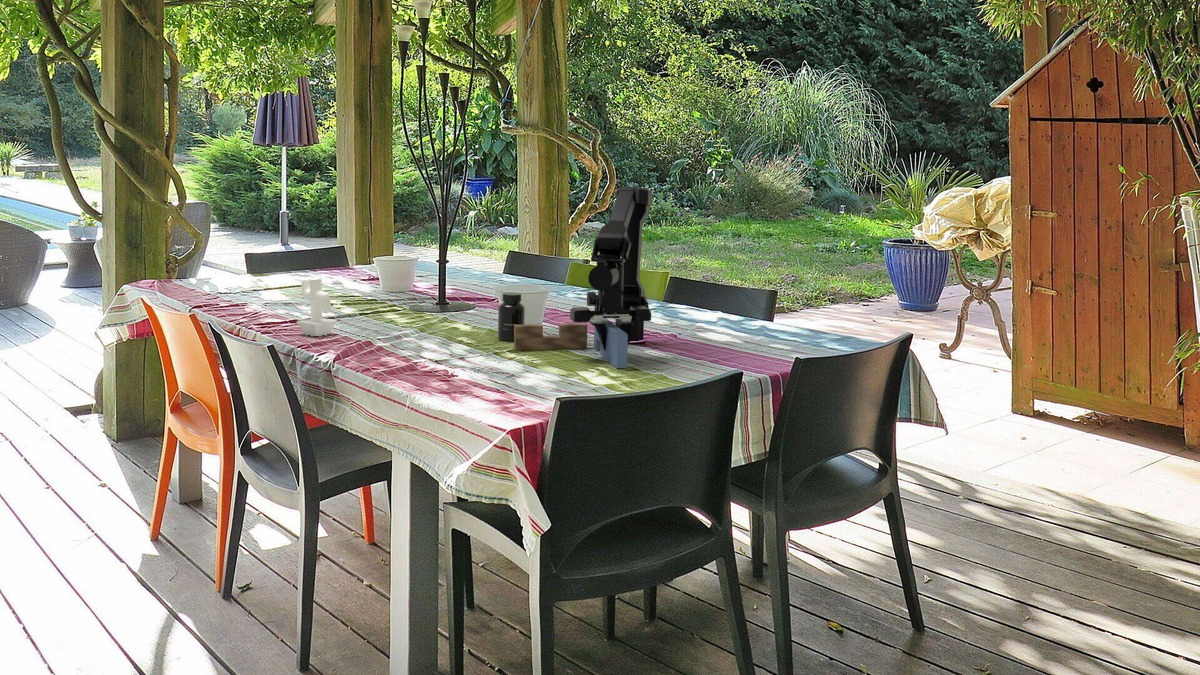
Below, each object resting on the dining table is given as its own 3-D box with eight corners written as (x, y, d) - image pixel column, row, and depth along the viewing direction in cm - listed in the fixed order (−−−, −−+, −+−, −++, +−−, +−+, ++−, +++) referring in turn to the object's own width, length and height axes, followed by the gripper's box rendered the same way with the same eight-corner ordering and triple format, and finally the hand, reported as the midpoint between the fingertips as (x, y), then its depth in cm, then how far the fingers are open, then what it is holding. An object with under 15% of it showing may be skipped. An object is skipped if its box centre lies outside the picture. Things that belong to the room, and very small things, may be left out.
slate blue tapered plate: (593, 348, 260) (594, 316, 259) (603, 347, 261) (603, 316, 259) (616, 369, 237) (617, 334, 236) (626, 368, 238) (627, 334, 236)
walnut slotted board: (584, 346, 262) (585, 323, 261) (587, 348, 260) (587, 324, 259) (514, 348, 258) (514, 324, 257) (515, 350, 256) (515, 326, 255)
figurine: (318, 339, 265) (316, 280, 263) (294, 334, 271) (292, 277, 268) (340, 335, 271) (338, 277, 268) (316, 330, 277) (314, 274, 274)
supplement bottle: (506, 343, 265) (506, 296, 263) (493, 338, 270) (493, 293, 268) (529, 340, 269) (529, 294, 267) (515, 336, 274) (515, 291, 272)
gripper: (640, 279, 256) (638, 342, 259) (565, 280, 251) (565, 344, 254) (652, 286, 245) (650, 351, 248) (575, 287, 241) (574, 353, 244)
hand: (609, 349), depth 249 cm, fingers closed on slate blue tapered plate, 2 cm apart
